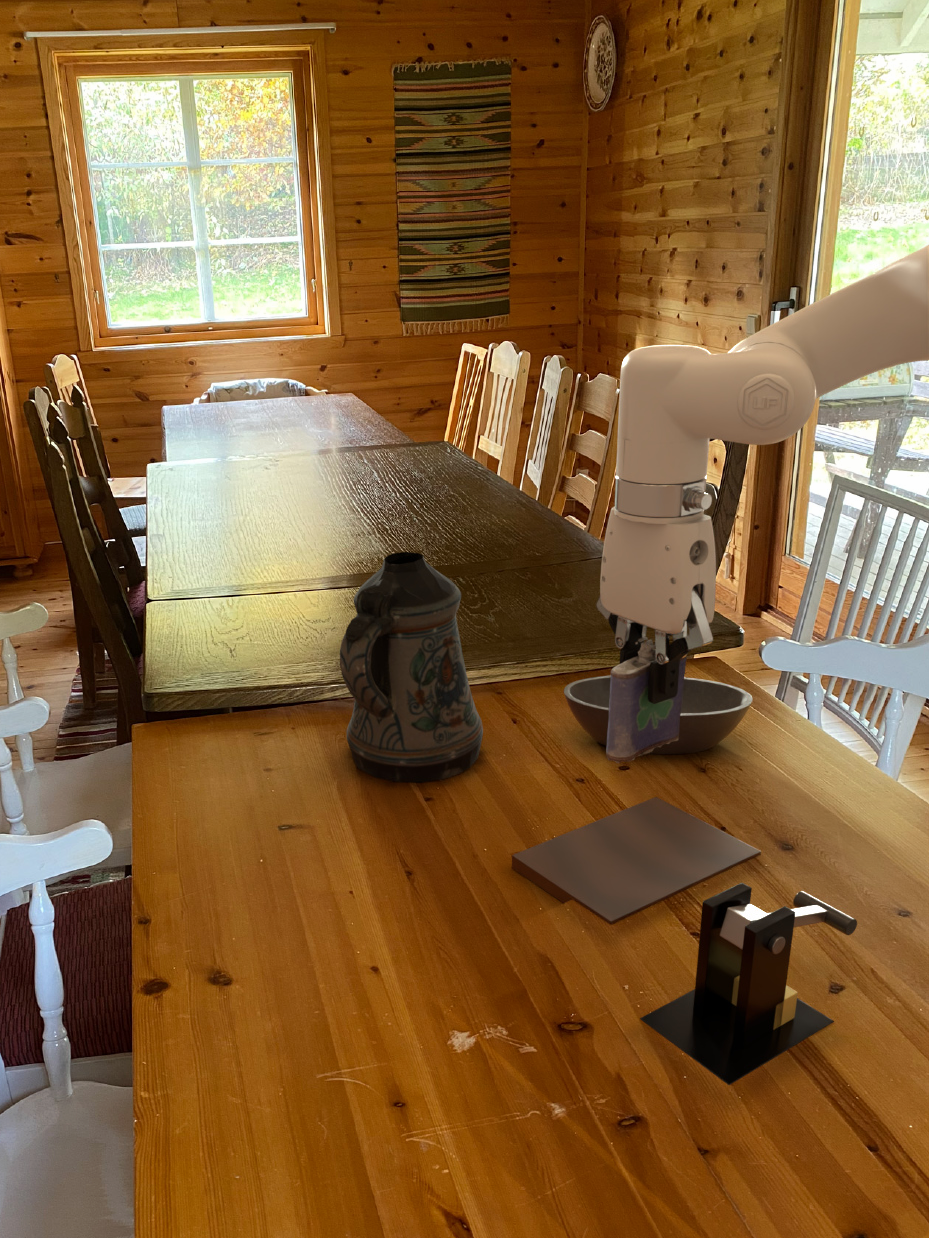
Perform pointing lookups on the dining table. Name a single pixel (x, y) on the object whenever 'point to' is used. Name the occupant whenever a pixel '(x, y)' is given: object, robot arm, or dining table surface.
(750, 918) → the lever
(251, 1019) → the dining table surface
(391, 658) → the beer stein
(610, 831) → the cutting board
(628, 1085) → the dining table surface
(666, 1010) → the dark brown stand
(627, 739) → the flask
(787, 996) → the butter
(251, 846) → the dining table surface
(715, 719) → the bowl
